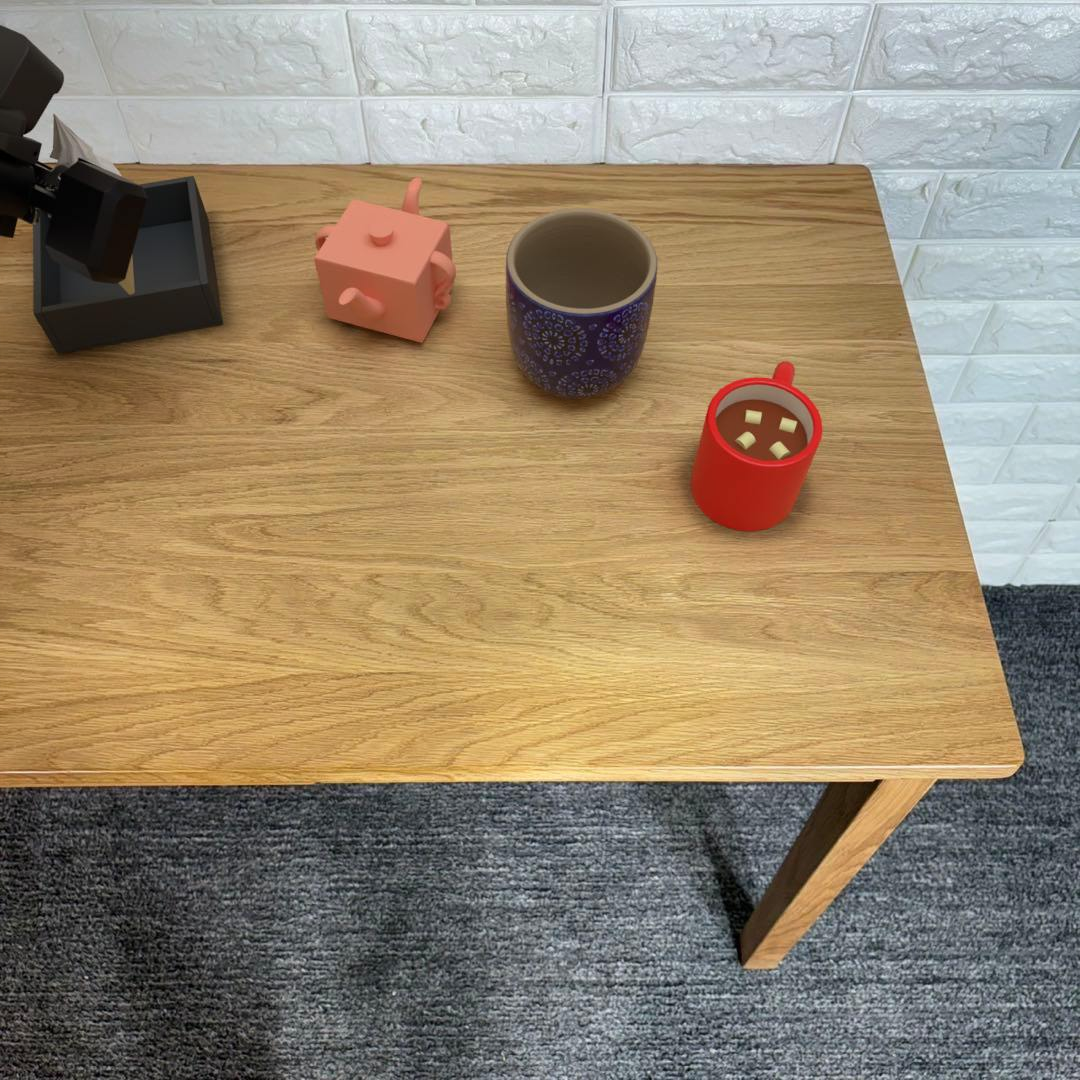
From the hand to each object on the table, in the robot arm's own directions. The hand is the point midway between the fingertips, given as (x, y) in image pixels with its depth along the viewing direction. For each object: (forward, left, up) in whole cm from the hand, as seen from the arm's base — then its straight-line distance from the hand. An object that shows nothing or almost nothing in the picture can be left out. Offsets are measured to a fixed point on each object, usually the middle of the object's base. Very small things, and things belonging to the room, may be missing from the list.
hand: (111, 205), depth 70 cm
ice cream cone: (-1, -1, -7) cm, 7 cm away
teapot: (+18, -1, -14) cm, 23 cm away
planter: (+31, -11, -14) cm, 36 cm away
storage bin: (-2, +7, -13) cm, 15 cm away
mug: (+41, -24, -14) cm, 50 cm away
